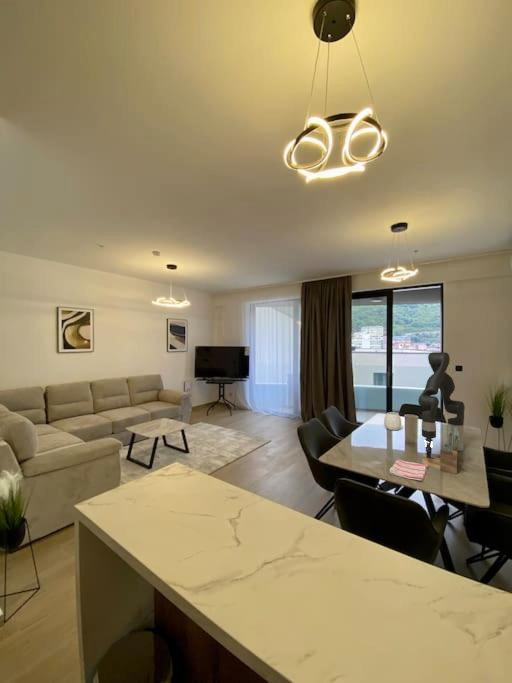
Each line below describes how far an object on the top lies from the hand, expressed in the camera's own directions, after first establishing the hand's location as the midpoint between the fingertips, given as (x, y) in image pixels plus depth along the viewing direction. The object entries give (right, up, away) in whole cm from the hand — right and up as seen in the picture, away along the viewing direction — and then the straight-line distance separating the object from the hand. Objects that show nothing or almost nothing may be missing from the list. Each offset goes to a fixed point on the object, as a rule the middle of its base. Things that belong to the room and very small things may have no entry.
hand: (429, 455), depth 179 cm
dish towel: (-16, -7, -8) cm, 19 cm away
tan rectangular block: (+2, -6, -2) cm, 7 cm away
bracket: (+19, -6, +8) cm, 21 cm away
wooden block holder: (+8, -6, -6) cm, 11 cm away
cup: (+12, -6, +73) cm, 74 cm away
